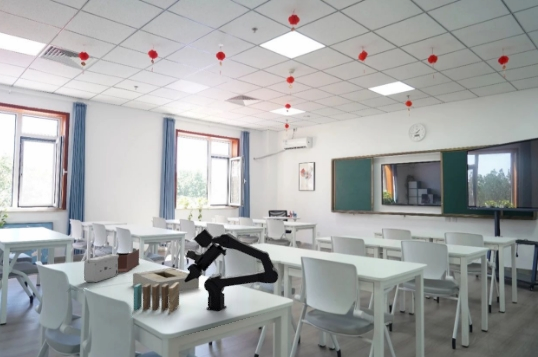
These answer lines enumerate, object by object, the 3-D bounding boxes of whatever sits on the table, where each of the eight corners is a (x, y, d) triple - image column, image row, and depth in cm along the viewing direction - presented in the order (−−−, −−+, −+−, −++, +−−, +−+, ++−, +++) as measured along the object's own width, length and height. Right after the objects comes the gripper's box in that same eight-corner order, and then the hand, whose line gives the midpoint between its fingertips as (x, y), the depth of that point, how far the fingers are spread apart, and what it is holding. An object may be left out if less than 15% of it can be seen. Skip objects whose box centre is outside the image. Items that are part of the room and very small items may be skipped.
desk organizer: (110, 273, 234) (111, 255, 235) (125, 264, 263) (125, 249, 264) (127, 272, 235) (127, 255, 236) (139, 264, 264) (140, 248, 265)
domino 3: (159, 306, 161) (159, 283, 161) (155, 310, 156) (155, 286, 156) (155, 306, 161) (156, 283, 161) (152, 310, 156) (152, 286, 156)
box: (199, 289, 194) (170, 278, 217) (199, 274, 194) (170, 265, 217) (158, 298, 178) (132, 286, 201) (158, 282, 178) (132, 272, 201)
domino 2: (150, 306, 161) (150, 283, 161) (146, 310, 156) (146, 286, 156) (146, 306, 161) (147, 283, 161) (142, 310, 156) (143, 286, 156)
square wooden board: (179, 304, 163) (179, 282, 164) (172, 312, 153) (172, 288, 153) (175, 304, 163) (175, 282, 164) (168, 312, 153) (168, 288, 153)
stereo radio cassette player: (108, 275, 228) (108, 242, 229) (119, 275, 226) (120, 243, 227) (83, 282, 208) (83, 247, 209) (95, 283, 206) (95, 247, 207)
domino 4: (168, 306, 161) (168, 283, 161) (165, 310, 156) (165, 286, 156) (164, 306, 161) (165, 283, 161) (161, 310, 156) (161, 286, 156)
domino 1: (141, 306, 161) (141, 283, 161) (137, 310, 156) (137, 286, 156) (138, 306, 161) (138, 283, 161) (133, 310, 156) (133, 286, 156)
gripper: (201, 240, 169) (177, 264, 168) (192, 245, 150) (165, 273, 150) (218, 257, 168) (194, 281, 168) (211, 264, 149) (184, 292, 149)
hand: (185, 281), depth 159 cm, fingers closed
